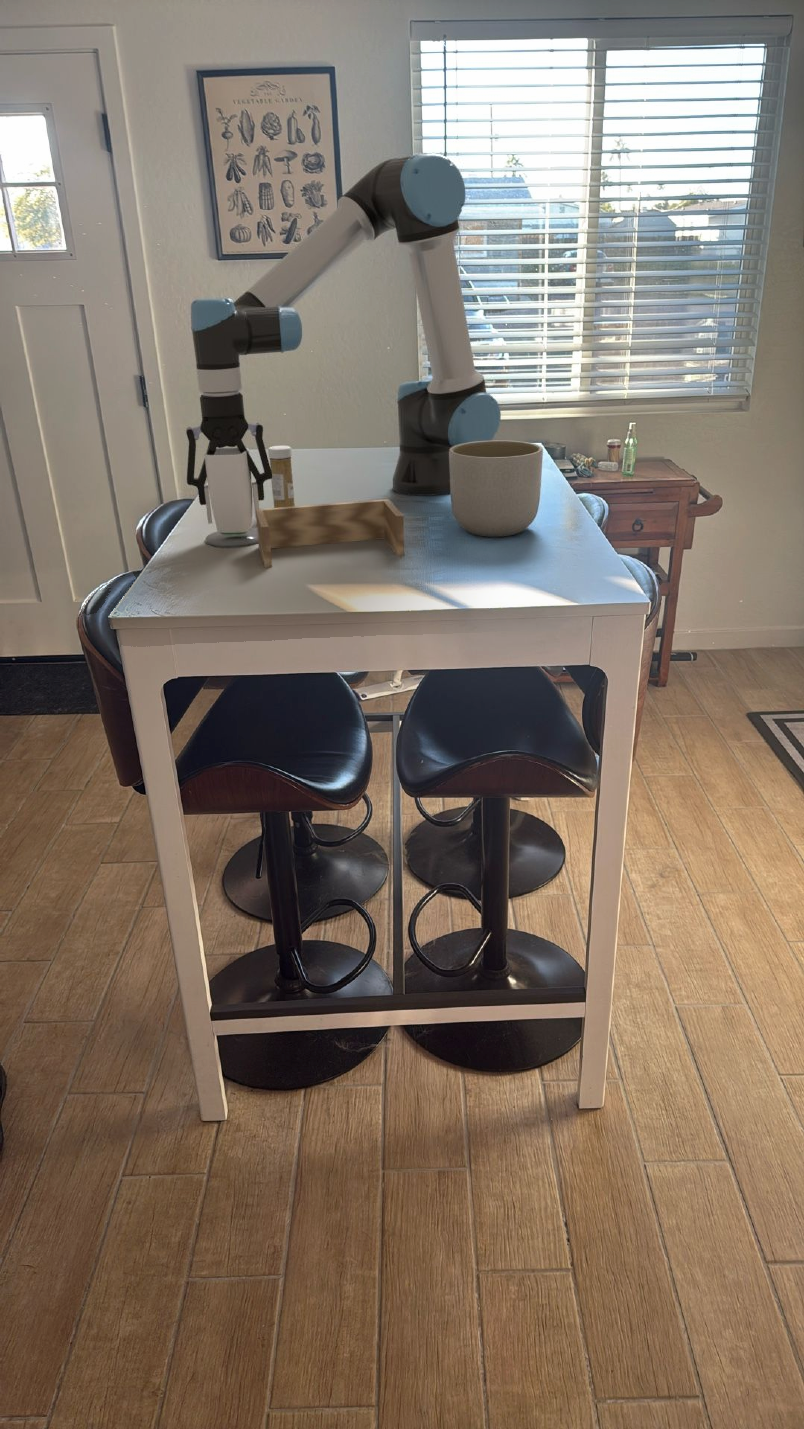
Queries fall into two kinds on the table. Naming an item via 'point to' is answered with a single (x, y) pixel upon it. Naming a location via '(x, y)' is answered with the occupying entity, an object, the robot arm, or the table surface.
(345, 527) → the wooden stand
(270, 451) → the sprinkles bottle
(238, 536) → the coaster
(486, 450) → the planter
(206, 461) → the cup
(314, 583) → the table surface
